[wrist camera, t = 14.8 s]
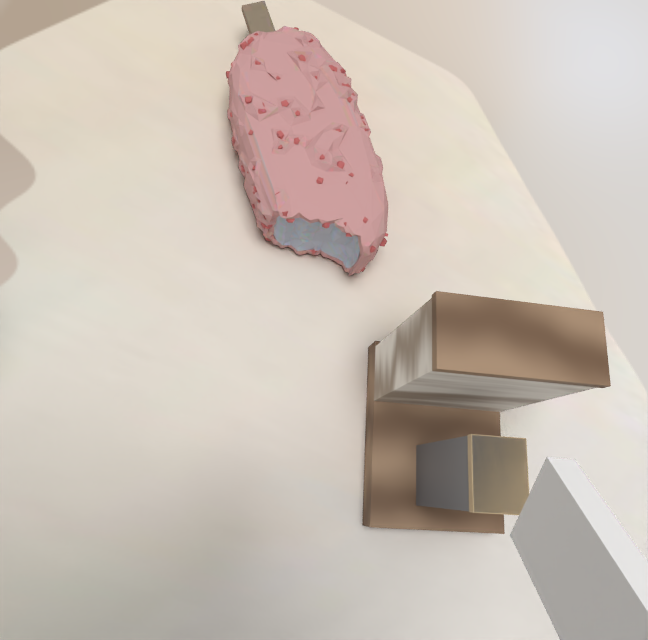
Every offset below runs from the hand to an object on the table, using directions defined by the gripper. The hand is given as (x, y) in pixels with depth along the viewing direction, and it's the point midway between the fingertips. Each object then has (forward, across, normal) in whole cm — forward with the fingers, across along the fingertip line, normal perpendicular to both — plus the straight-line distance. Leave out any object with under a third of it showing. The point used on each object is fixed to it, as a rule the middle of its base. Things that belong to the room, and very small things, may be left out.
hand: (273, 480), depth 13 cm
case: (+24, +18, -22) cm, 38 cm away
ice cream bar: (+49, +3, -2) cm, 49 cm away
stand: (+29, +18, -22) cm, 40 cm away
